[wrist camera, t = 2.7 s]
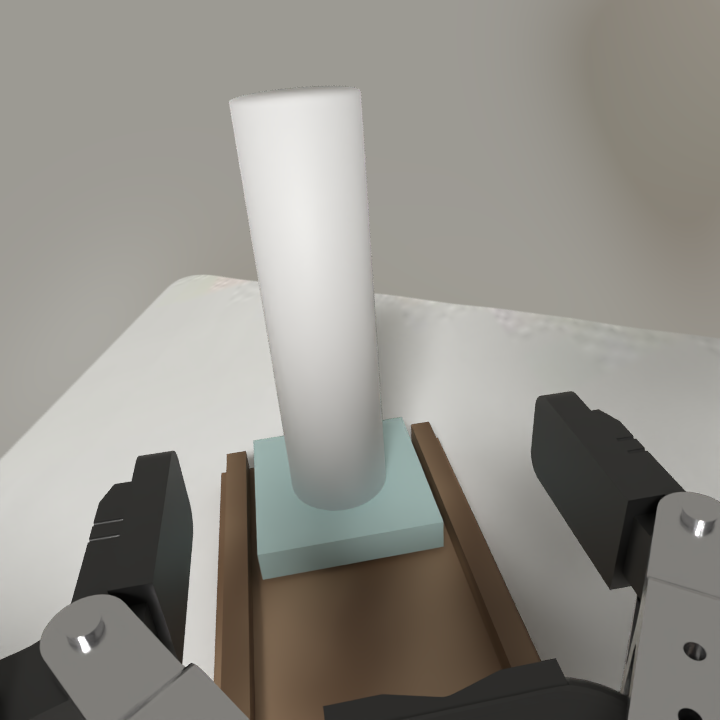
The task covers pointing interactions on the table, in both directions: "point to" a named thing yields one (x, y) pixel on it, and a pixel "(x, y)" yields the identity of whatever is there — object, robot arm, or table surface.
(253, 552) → the rail board
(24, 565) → the table surface
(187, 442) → the table surface
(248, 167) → the keeper
